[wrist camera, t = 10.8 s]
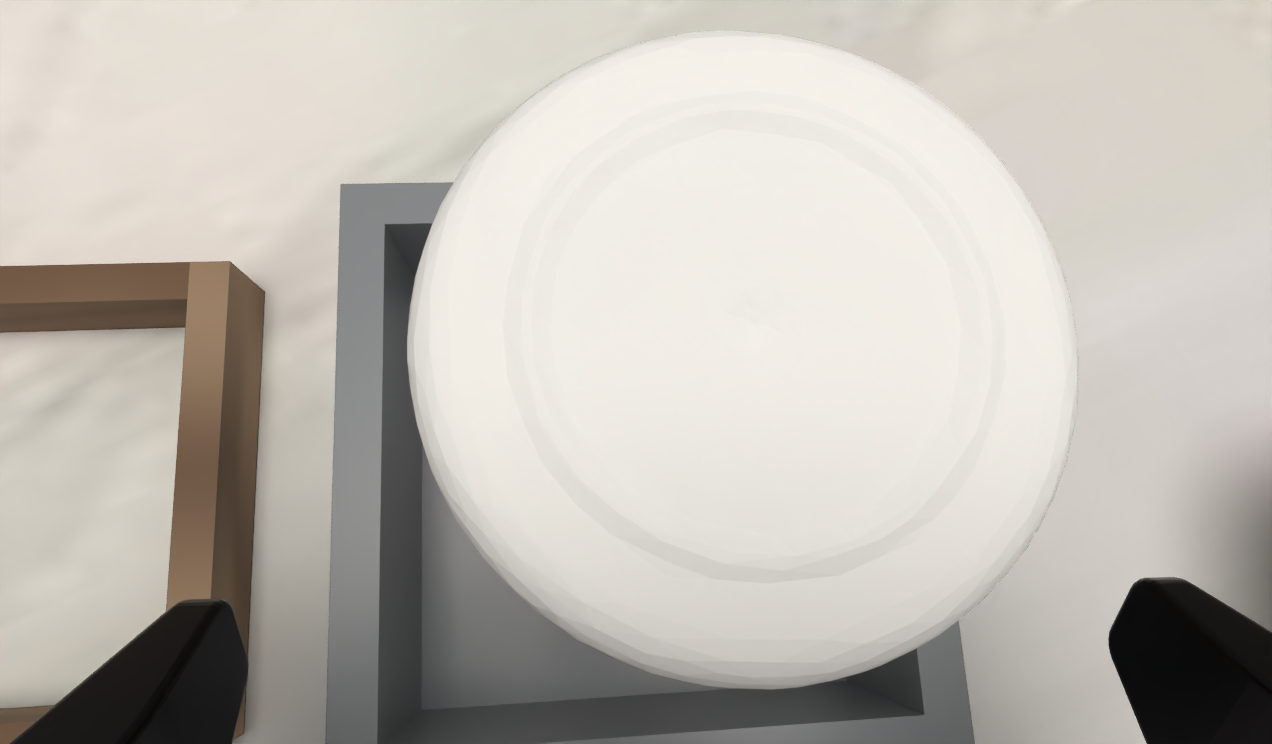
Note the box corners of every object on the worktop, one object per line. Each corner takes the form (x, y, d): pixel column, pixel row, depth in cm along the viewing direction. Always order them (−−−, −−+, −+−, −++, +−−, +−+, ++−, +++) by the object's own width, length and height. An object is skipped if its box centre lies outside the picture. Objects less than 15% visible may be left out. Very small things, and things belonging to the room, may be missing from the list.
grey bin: (878, 713, 18) (977, 762, 14) (386, 749, 17) (323, 814, 13) (829, 258, 20) (899, 176, 16) (392, 268, 19) (340, 184, 15)
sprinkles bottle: (691, 365, 19) (954, -60, 6) (755, 558, 18) (1229, 562, 5) (498, 421, 18) (315, 87, 5) (555, 624, 18) (507, 823, 4)
